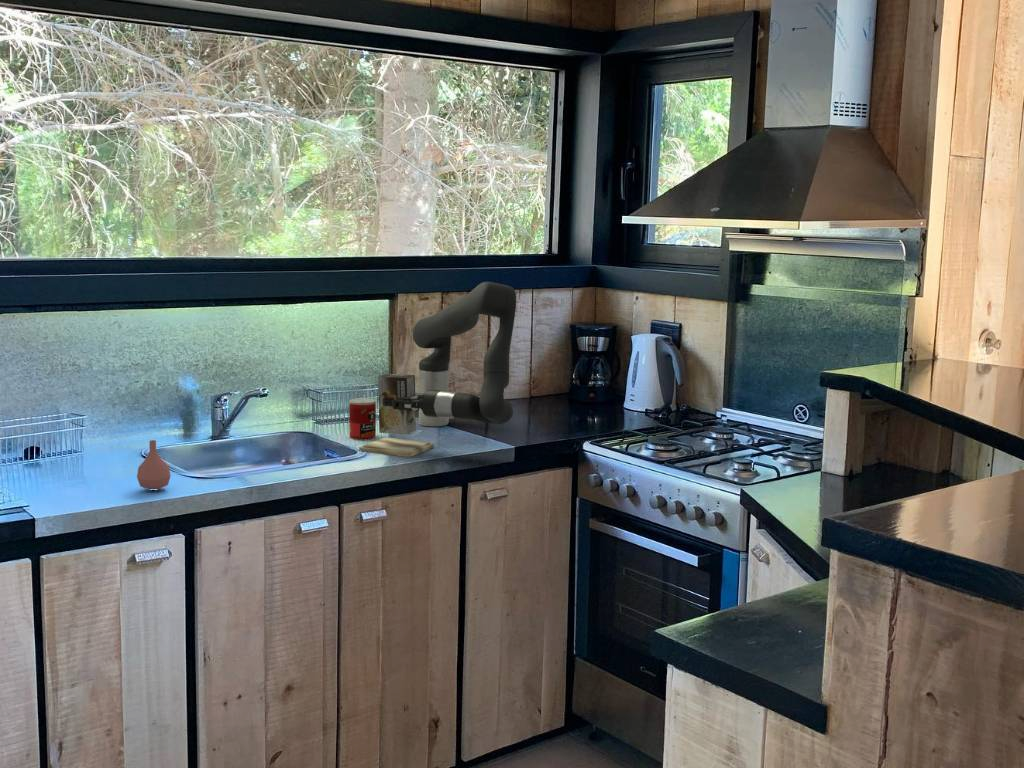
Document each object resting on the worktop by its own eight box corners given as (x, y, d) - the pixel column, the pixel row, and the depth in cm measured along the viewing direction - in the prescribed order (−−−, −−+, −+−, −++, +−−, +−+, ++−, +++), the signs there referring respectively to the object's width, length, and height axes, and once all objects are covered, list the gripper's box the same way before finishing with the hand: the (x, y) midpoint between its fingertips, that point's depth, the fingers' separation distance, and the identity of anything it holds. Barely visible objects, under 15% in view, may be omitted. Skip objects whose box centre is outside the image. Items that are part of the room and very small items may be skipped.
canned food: (363, 441, 325) (362, 403, 323) (343, 437, 329) (343, 400, 328) (381, 436, 331) (381, 400, 329) (362, 433, 335) (361, 397, 334)
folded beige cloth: (385, 441, 325) (385, 436, 324) (433, 447, 318) (433, 442, 318) (359, 450, 312) (359, 445, 312) (409, 457, 305) (409, 451, 305)
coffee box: (417, 430, 316) (416, 374, 313) (408, 435, 310) (407, 377, 307) (387, 428, 318) (386, 373, 316) (377, 433, 312) (377, 376, 310)
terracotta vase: (159, 484, 273) (158, 436, 271) (177, 489, 268) (176, 440, 266) (131, 490, 267) (129, 440, 265) (148, 495, 262) (146, 445, 260)
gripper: (454, 387, 313) (402, 382, 319) (429, 394, 300) (376, 390, 307) (454, 413, 314) (403, 408, 321) (429, 422, 301) (376, 417, 308)
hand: (390, 399), depth 314 cm, fingers closed on coffee box, 7 cm apart
